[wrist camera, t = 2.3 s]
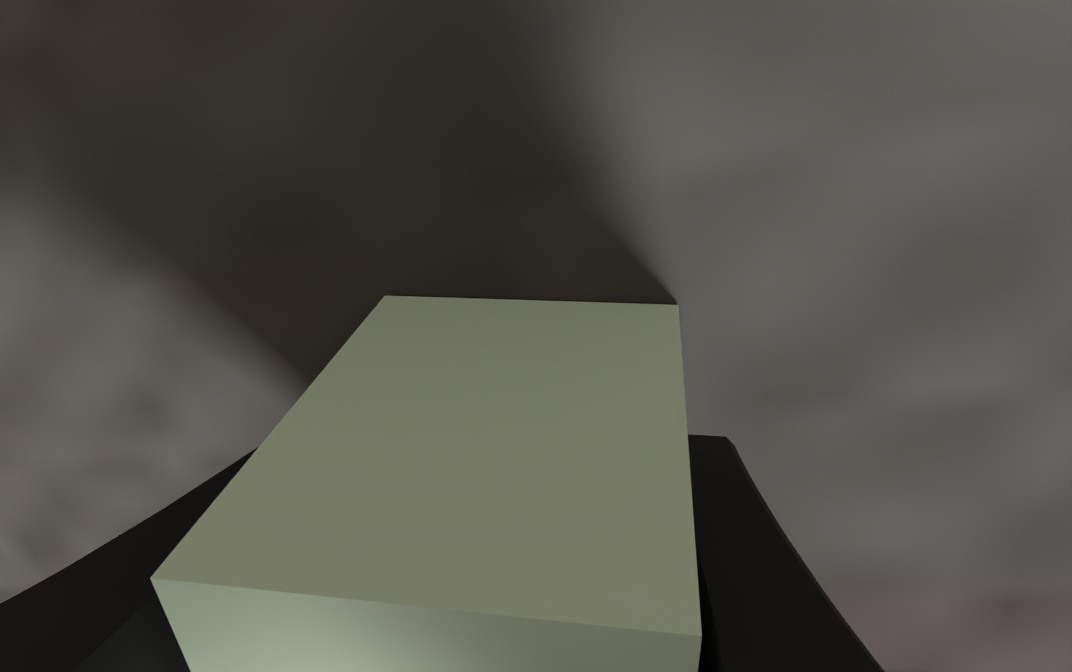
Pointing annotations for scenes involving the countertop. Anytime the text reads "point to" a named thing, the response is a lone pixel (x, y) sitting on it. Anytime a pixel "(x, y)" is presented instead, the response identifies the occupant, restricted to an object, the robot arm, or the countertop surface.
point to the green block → (460, 503)
